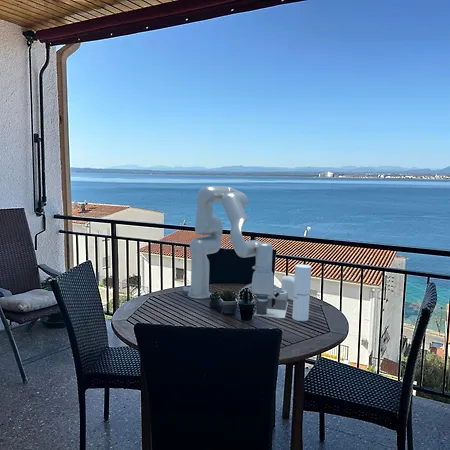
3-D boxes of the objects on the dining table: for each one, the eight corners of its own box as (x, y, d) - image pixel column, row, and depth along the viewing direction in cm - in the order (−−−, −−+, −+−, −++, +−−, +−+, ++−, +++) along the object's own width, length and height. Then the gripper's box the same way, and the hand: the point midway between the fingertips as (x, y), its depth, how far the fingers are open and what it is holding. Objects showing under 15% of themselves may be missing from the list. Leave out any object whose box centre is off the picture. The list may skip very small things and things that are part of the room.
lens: (255, 314, 196) (256, 297, 195) (256, 310, 200) (257, 294, 200) (266, 315, 195) (267, 298, 194) (267, 311, 199) (268, 295, 198)
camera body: (266, 308, 205) (267, 294, 204) (269, 300, 219) (270, 287, 218) (285, 310, 203) (286, 296, 202) (287, 302, 217) (288, 288, 216)
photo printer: (279, 297, 228) (280, 274, 227) (285, 296, 231) (286, 274, 229) (294, 302, 220) (295, 278, 219) (299, 300, 223) (300, 277, 221)
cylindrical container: (304, 323, 187) (307, 268, 184) (289, 320, 191) (292, 266, 188) (310, 319, 193) (313, 265, 190) (295, 316, 197) (298, 263, 194)
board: (253, 316, 194) (253, 315, 194) (261, 301, 220) (261, 299, 220) (284, 319, 191) (284, 318, 191) (288, 303, 217) (288, 302, 217)
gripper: (243, 269, 193) (242, 306, 195) (281, 272, 190) (280, 309, 191) (246, 266, 201) (245, 301, 202) (283, 269, 197) (281, 304, 199)
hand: (262, 305), depth 197 cm, fingers open, 9 cm apart
